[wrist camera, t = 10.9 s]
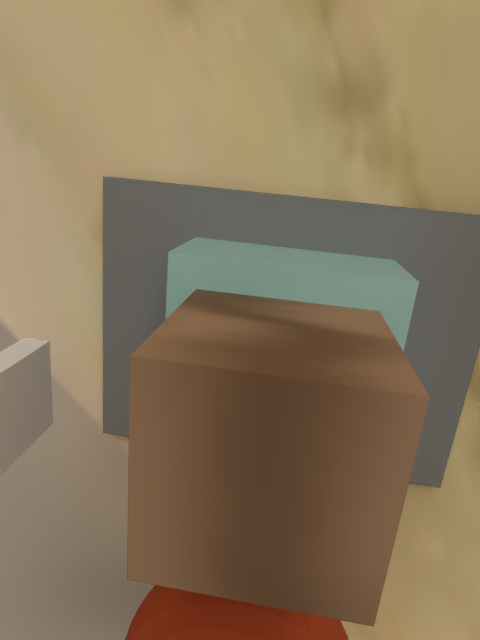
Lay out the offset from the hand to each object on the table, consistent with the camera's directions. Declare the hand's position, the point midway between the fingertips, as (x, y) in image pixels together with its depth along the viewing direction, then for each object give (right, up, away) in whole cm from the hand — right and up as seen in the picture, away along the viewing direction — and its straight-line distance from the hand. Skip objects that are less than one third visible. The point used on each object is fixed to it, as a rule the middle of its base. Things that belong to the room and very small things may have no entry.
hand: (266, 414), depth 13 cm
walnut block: (0, 0, +3) cm, 3 cm away
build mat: (+1, +2, +7) cm, 7 cm away
